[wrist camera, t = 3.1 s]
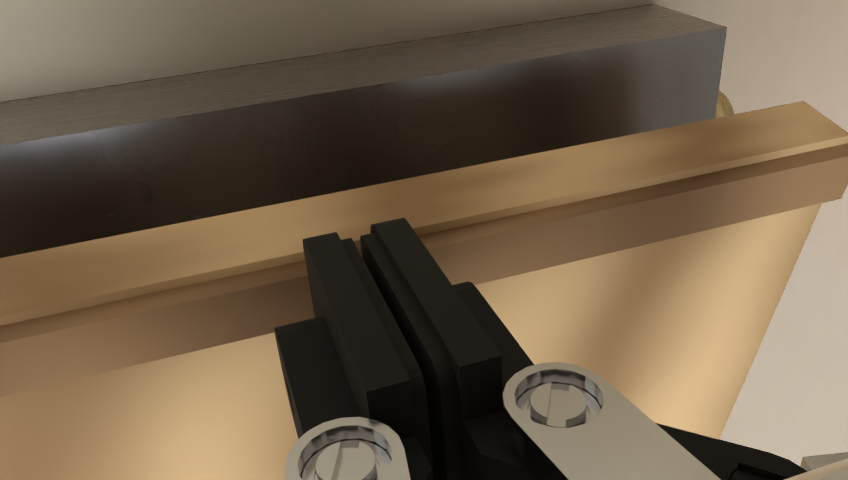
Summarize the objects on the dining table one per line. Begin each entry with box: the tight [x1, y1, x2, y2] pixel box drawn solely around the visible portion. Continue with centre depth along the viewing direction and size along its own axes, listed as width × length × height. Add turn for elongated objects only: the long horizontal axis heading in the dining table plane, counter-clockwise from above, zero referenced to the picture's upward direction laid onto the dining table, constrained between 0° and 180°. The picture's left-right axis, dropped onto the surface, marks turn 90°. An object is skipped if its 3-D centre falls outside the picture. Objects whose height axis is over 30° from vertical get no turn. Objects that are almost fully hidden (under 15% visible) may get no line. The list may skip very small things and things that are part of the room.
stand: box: [0, 4, 734, 258], centre depth 23 cm, size 24×17×3 cm
